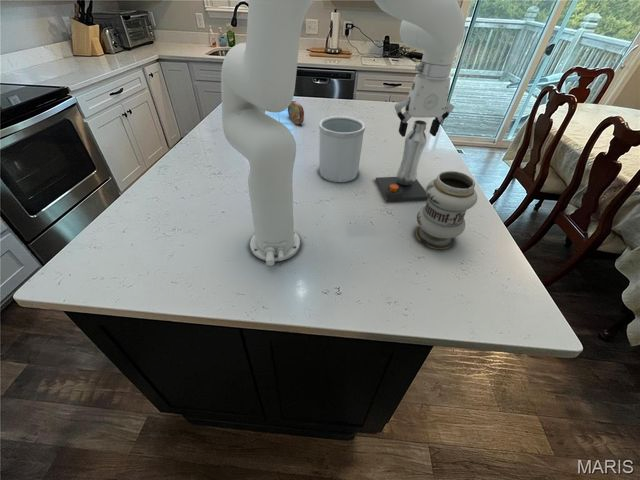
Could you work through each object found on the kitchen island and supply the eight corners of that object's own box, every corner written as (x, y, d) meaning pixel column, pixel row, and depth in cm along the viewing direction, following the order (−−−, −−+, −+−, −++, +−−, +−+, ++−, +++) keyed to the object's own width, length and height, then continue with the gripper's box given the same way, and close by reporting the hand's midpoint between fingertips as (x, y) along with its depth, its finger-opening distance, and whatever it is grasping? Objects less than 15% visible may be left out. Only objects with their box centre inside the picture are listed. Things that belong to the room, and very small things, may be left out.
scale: (428, 200, 94) (431, 192, 92) (386, 202, 92) (387, 194, 90) (413, 179, 104) (415, 171, 102) (374, 181, 102) (375, 173, 100)
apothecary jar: (403, 235, 80) (420, 177, 68) (425, 218, 87) (445, 161, 75) (443, 259, 74) (470, 199, 62) (464, 238, 81) (493, 180, 69)
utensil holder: (323, 185, 98) (326, 134, 86) (312, 165, 109) (313, 116, 97) (364, 181, 101) (372, 130, 90) (350, 161, 112) (355, 114, 100)
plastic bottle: (393, 185, 97) (408, 124, 84) (396, 176, 102) (410, 117, 89) (413, 189, 96) (431, 128, 83) (414, 179, 101) (431, 120, 88)
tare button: (398, 192, 92) (399, 188, 91) (390, 192, 92) (391, 188, 91) (395, 188, 94) (396, 183, 93) (388, 188, 93) (389, 184, 92)
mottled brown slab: (287, 116, 146) (286, 98, 140) (293, 115, 147) (293, 97, 141) (298, 127, 136) (298, 108, 130) (305, 126, 137) (305, 107, 131)
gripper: (408, 73, 73) (393, 140, 84) (472, 74, 75) (449, 139, 87) (398, 66, 79) (385, 130, 90) (458, 67, 81) (438, 129, 92)
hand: (417, 134), depth 88 cm, fingers open, 9 cm apart
